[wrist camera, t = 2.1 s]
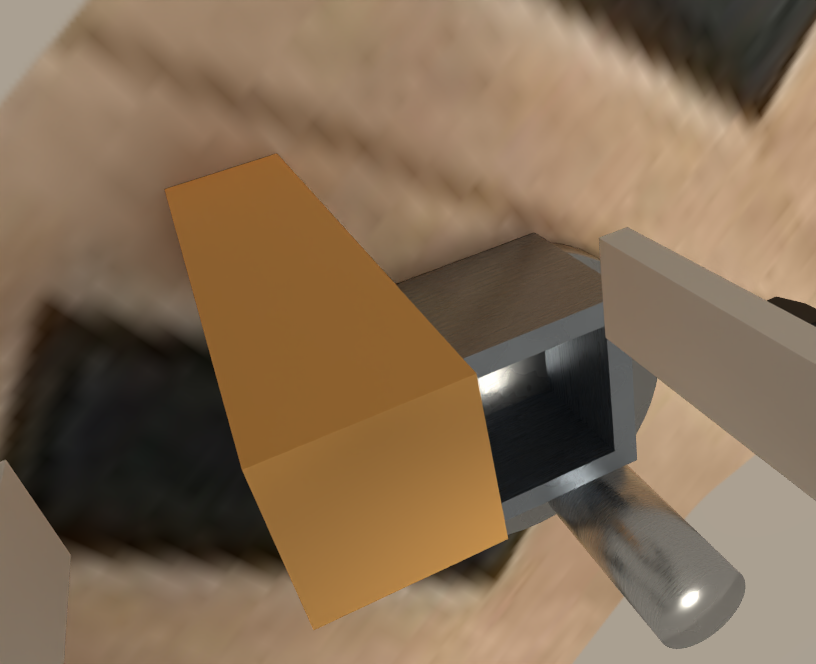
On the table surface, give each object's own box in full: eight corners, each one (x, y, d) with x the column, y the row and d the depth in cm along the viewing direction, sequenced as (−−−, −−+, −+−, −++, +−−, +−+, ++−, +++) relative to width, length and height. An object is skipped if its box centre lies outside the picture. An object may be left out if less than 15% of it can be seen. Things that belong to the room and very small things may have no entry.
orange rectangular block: (205, 290, 26) (313, 630, 13) (164, 188, 24) (241, 470, 11) (308, 254, 27) (507, 539, 14) (276, 153, 25) (476, 373, 12)
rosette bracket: (394, 564, 36) (494, 769, 27) (314, 314, 28) (415, 484, 19) (644, 449, 39) (809, 597, 30) (634, 195, 31) (853, 292, 22)
